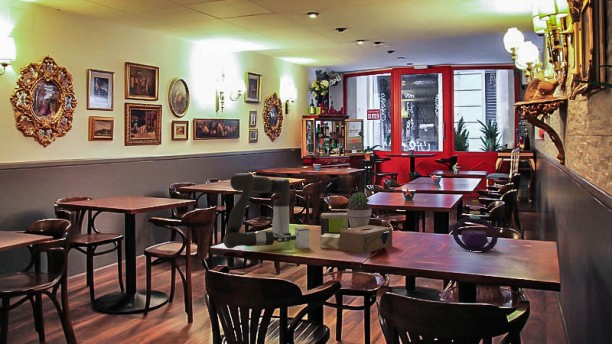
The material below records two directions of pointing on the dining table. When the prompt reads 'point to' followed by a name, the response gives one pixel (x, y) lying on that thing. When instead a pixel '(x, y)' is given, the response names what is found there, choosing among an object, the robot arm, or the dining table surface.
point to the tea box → (333, 223)
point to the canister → (302, 237)
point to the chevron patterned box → (330, 241)
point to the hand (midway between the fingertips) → (293, 236)
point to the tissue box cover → (364, 239)
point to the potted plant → (359, 210)
